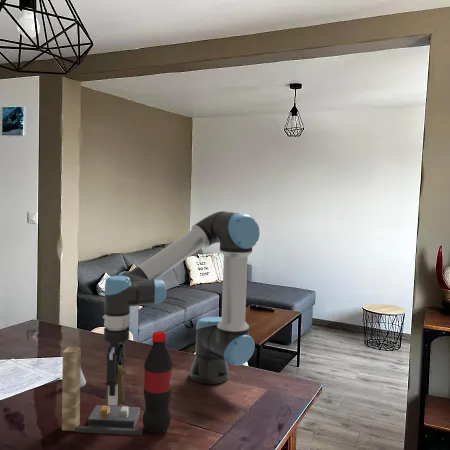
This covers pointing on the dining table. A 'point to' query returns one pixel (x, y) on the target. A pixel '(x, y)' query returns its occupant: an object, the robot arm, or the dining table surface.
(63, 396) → the oak post
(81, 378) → the flask
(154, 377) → the cola bottle
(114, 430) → the thin curved gray strip
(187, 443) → the dining table surface
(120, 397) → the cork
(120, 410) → the breaker panel
